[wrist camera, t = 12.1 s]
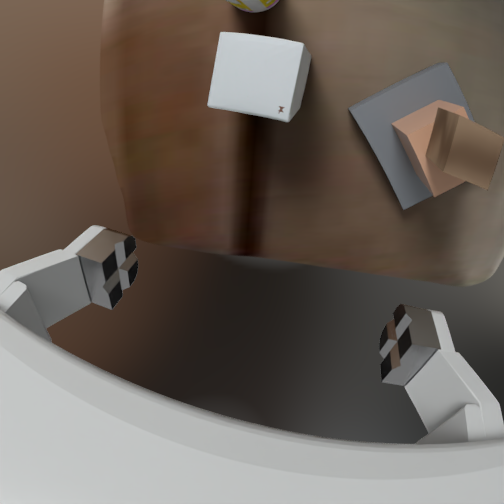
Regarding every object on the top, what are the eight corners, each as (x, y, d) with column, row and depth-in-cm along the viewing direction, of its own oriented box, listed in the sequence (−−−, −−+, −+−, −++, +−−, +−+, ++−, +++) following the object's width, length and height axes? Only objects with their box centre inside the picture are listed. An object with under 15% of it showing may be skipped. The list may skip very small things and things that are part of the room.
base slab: (438, 62, 25) (447, 62, 23) (480, 159, 30) (489, 165, 27) (348, 108, 32) (350, 110, 29) (398, 200, 36) (403, 209, 34)
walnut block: (437, 107, 21) (459, 115, 17) (479, 125, 20) (504, 138, 16) (425, 155, 24) (443, 172, 20) (466, 171, 23) (487, 190, 19)
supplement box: (312, 54, 29) (308, 43, 19) (300, 110, 33) (289, 126, 23) (252, 43, 30) (219, 29, 19) (242, 97, 34) (205, 108, 24)
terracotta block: (438, 99, 25) (463, 107, 20) (461, 151, 28) (486, 170, 22) (391, 123, 29) (406, 135, 23) (416, 174, 31) (434, 197, 25)
